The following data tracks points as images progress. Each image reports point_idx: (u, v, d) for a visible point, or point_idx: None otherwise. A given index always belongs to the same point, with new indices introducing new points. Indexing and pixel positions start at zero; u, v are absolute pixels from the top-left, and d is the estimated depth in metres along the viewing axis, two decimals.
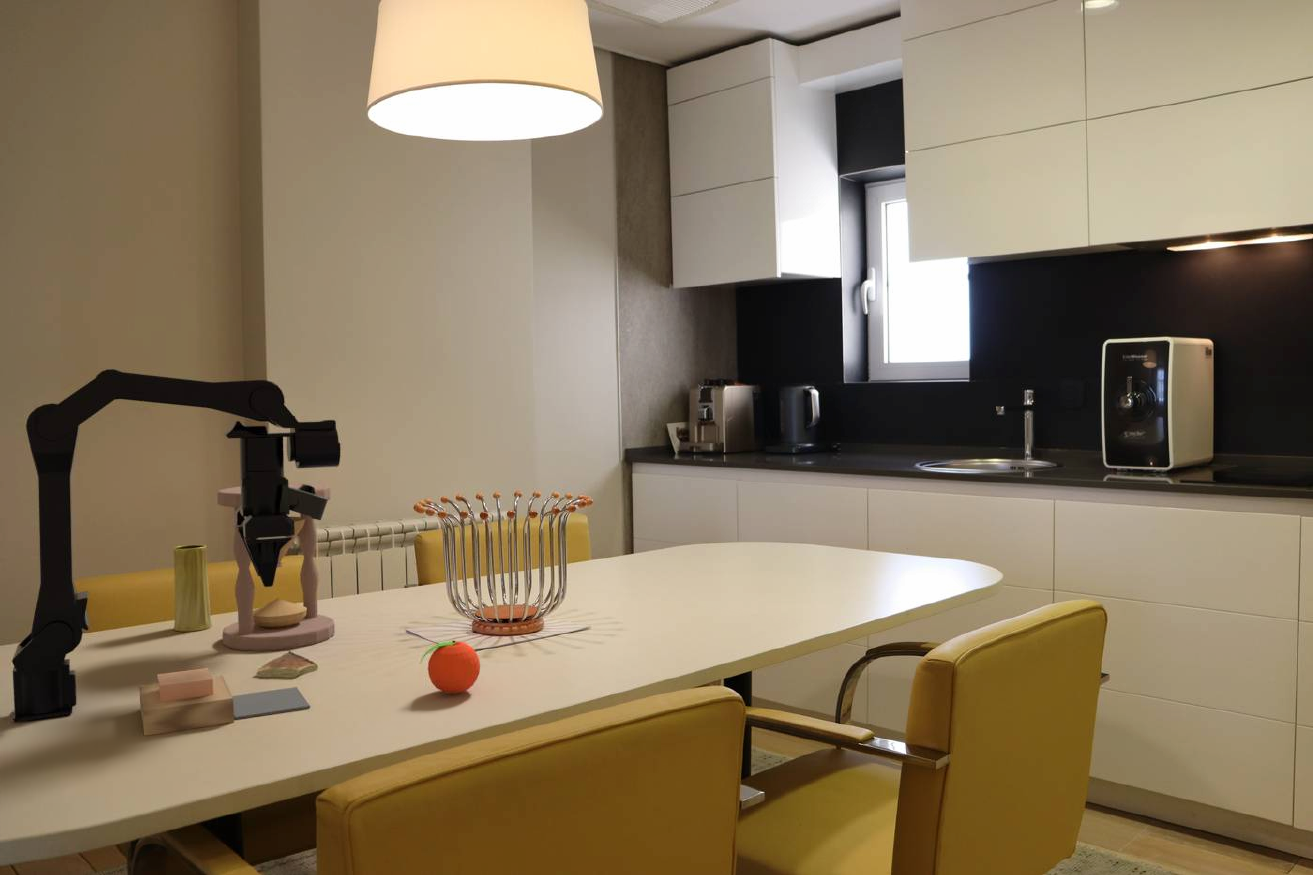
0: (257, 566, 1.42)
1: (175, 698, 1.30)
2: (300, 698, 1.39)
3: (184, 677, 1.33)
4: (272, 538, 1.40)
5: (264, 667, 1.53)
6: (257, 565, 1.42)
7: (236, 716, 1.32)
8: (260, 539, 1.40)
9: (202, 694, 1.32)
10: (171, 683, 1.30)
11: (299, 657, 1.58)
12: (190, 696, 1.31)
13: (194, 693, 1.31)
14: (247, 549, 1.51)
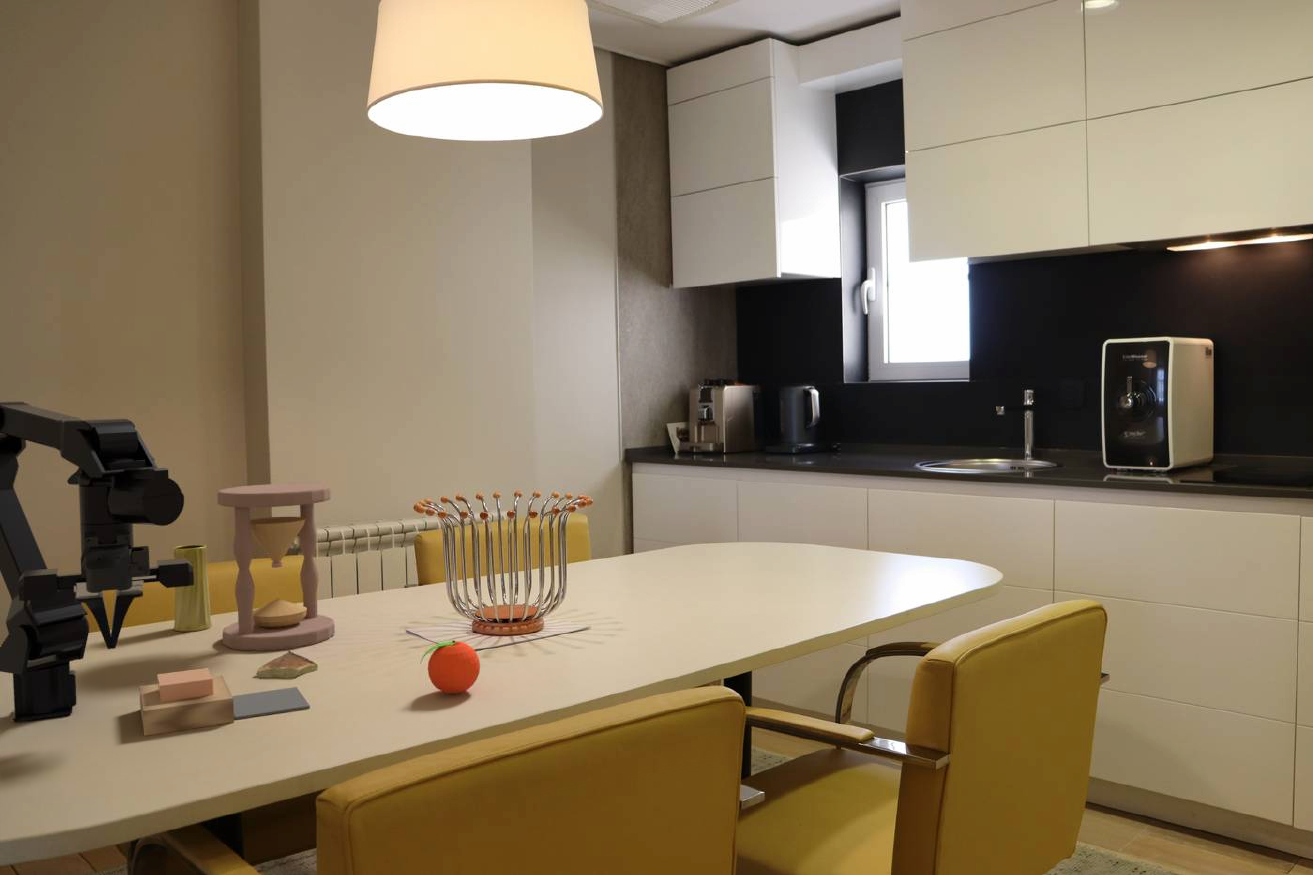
0: None
1: (175, 698, 1.30)
2: (300, 698, 1.39)
3: (184, 677, 1.33)
4: (76, 595, 1.27)
5: (264, 667, 1.53)
6: None
7: (236, 716, 1.32)
8: None
9: (202, 694, 1.32)
10: (171, 683, 1.30)
11: (299, 657, 1.58)
12: (190, 696, 1.31)
13: (194, 693, 1.31)
14: None
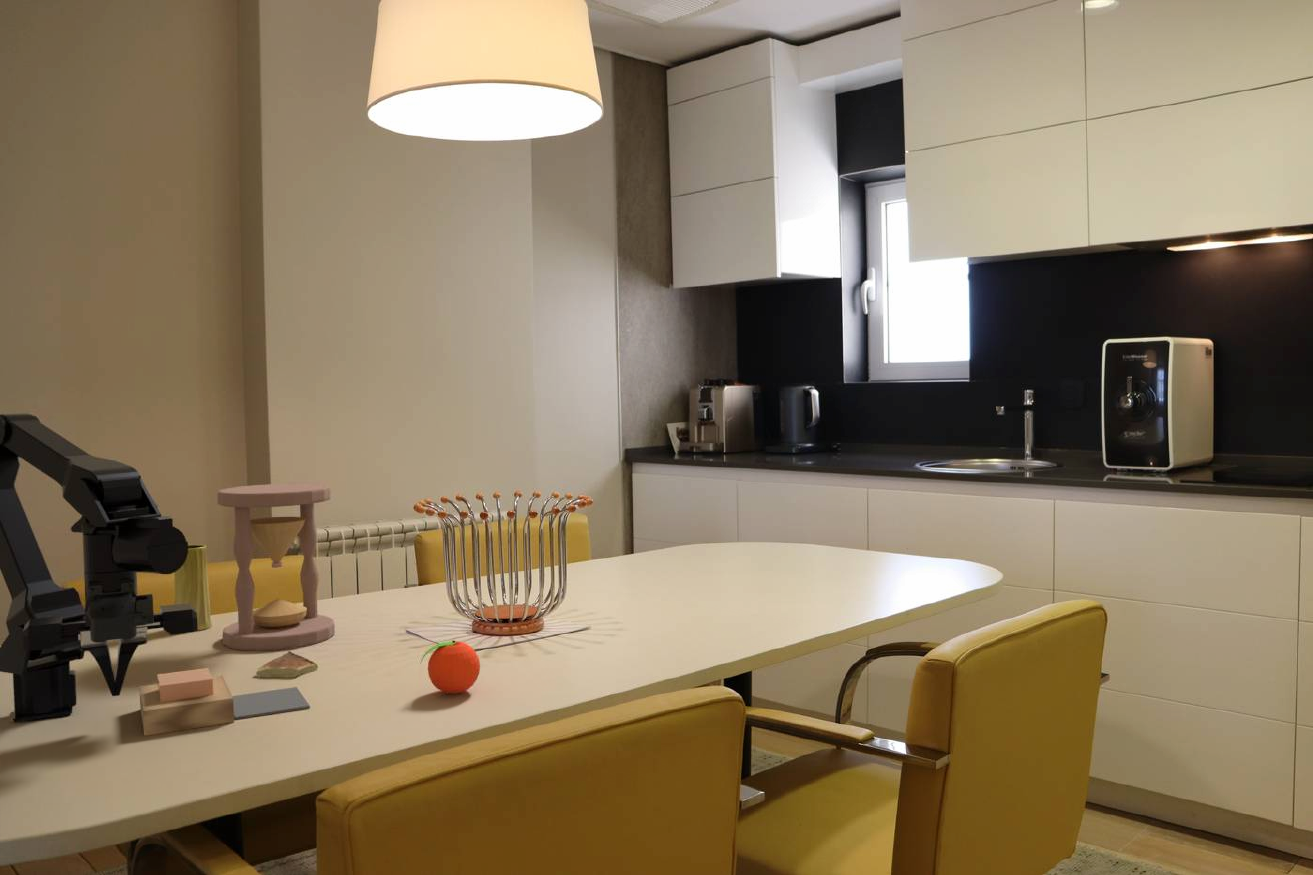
0: None
1: (175, 698, 1.30)
2: (300, 698, 1.39)
3: (184, 677, 1.33)
4: (80, 643, 1.27)
5: (264, 667, 1.53)
6: None
7: (236, 716, 1.32)
8: (80, 641, 1.29)
9: (202, 694, 1.32)
10: (171, 683, 1.30)
11: (299, 657, 1.58)
12: (190, 696, 1.31)
13: (194, 693, 1.31)
14: (117, 659, 1.31)
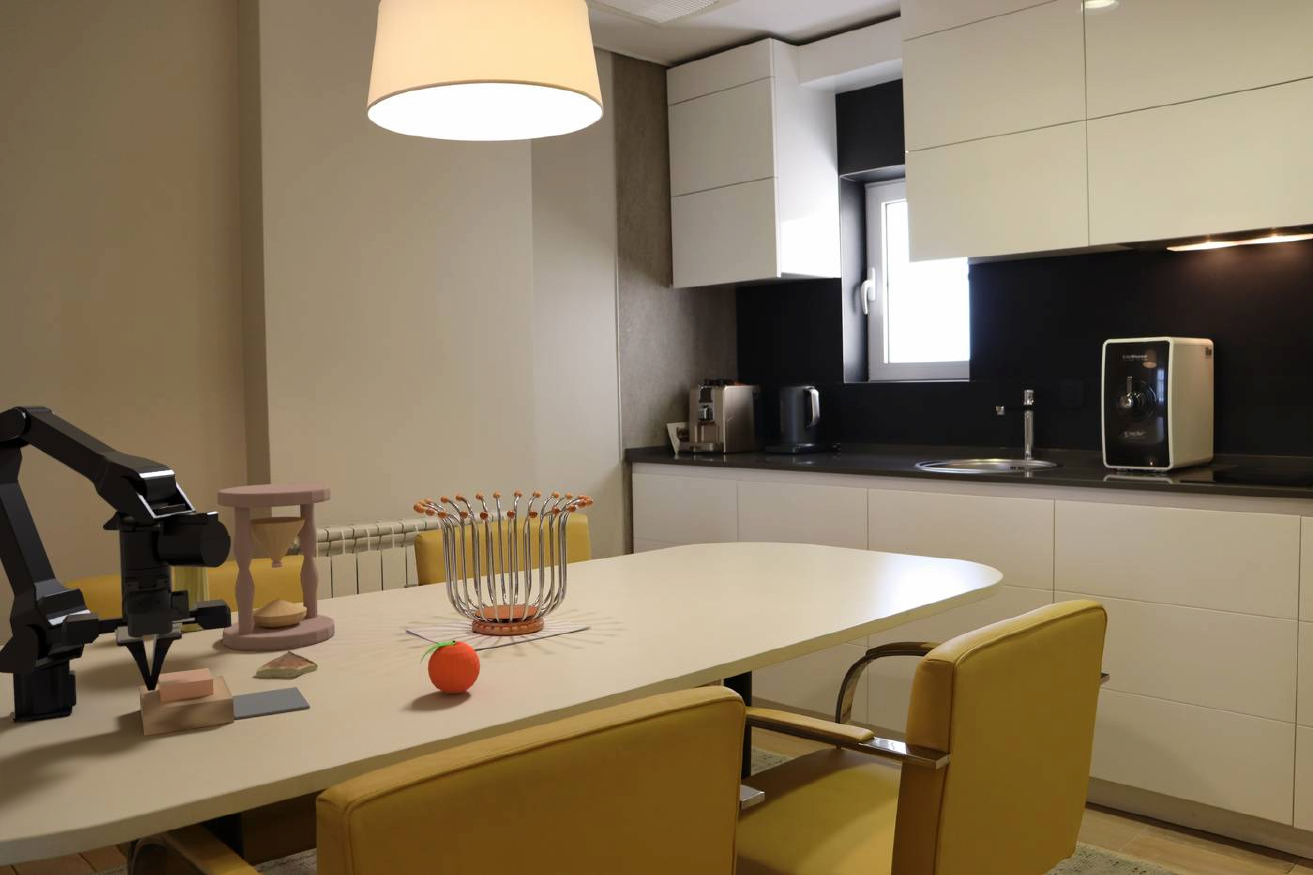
0: None
1: (175, 698, 1.30)
2: (300, 698, 1.39)
3: (184, 677, 1.33)
4: (116, 638, 1.29)
5: (264, 667, 1.53)
6: None
7: (236, 716, 1.32)
8: (116, 636, 1.31)
9: (202, 694, 1.32)
10: (171, 683, 1.30)
11: (299, 657, 1.58)
12: (190, 696, 1.31)
13: (194, 693, 1.31)
14: (152, 654, 1.33)
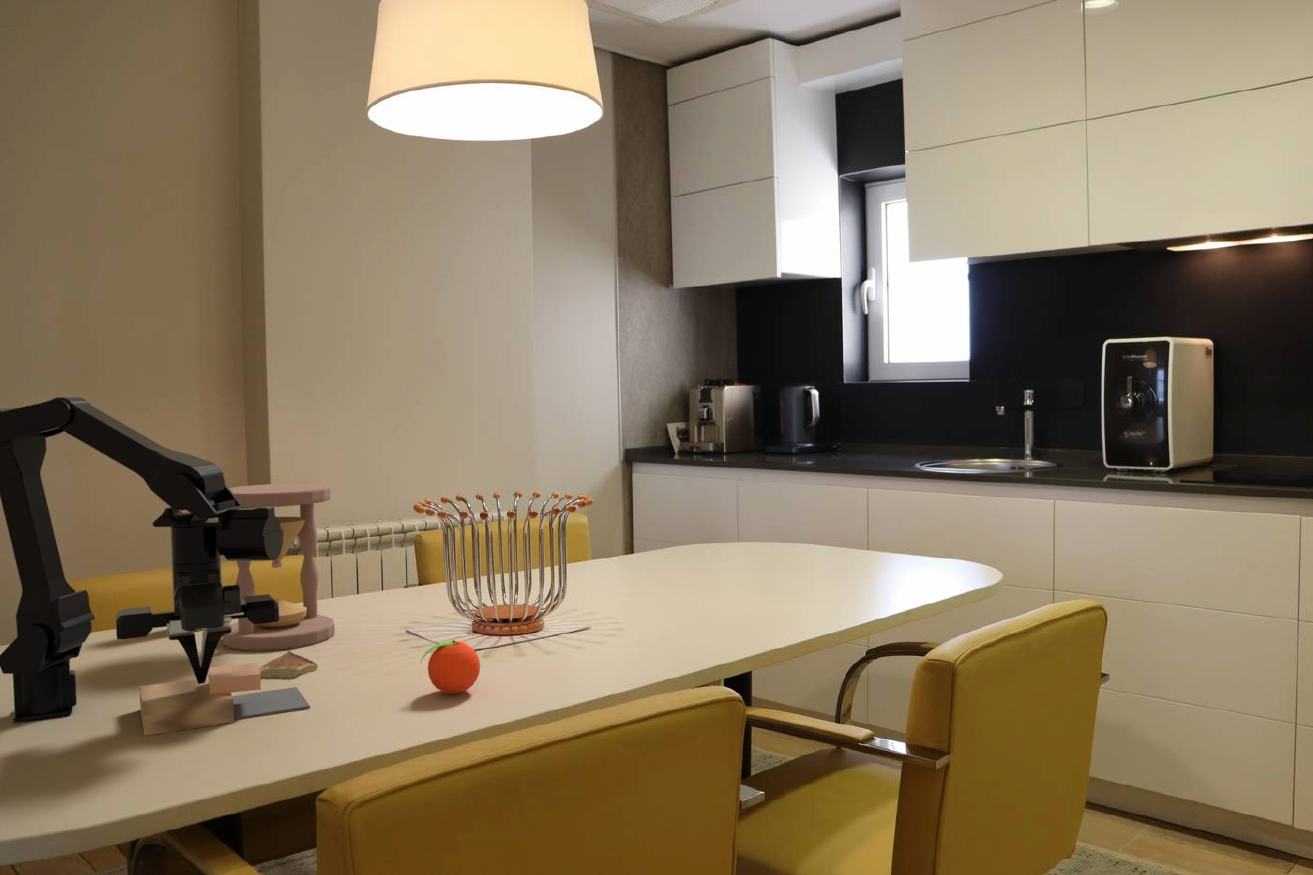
0: None
1: (224, 691, 1.33)
2: (300, 698, 1.39)
3: (233, 671, 1.35)
4: (168, 632, 1.32)
5: (264, 667, 1.53)
6: None
7: (236, 716, 1.32)
8: (167, 630, 1.33)
9: (250, 689, 1.34)
10: (220, 677, 1.33)
11: (298, 657, 1.58)
12: (238, 690, 1.33)
13: (242, 687, 1.34)
14: None
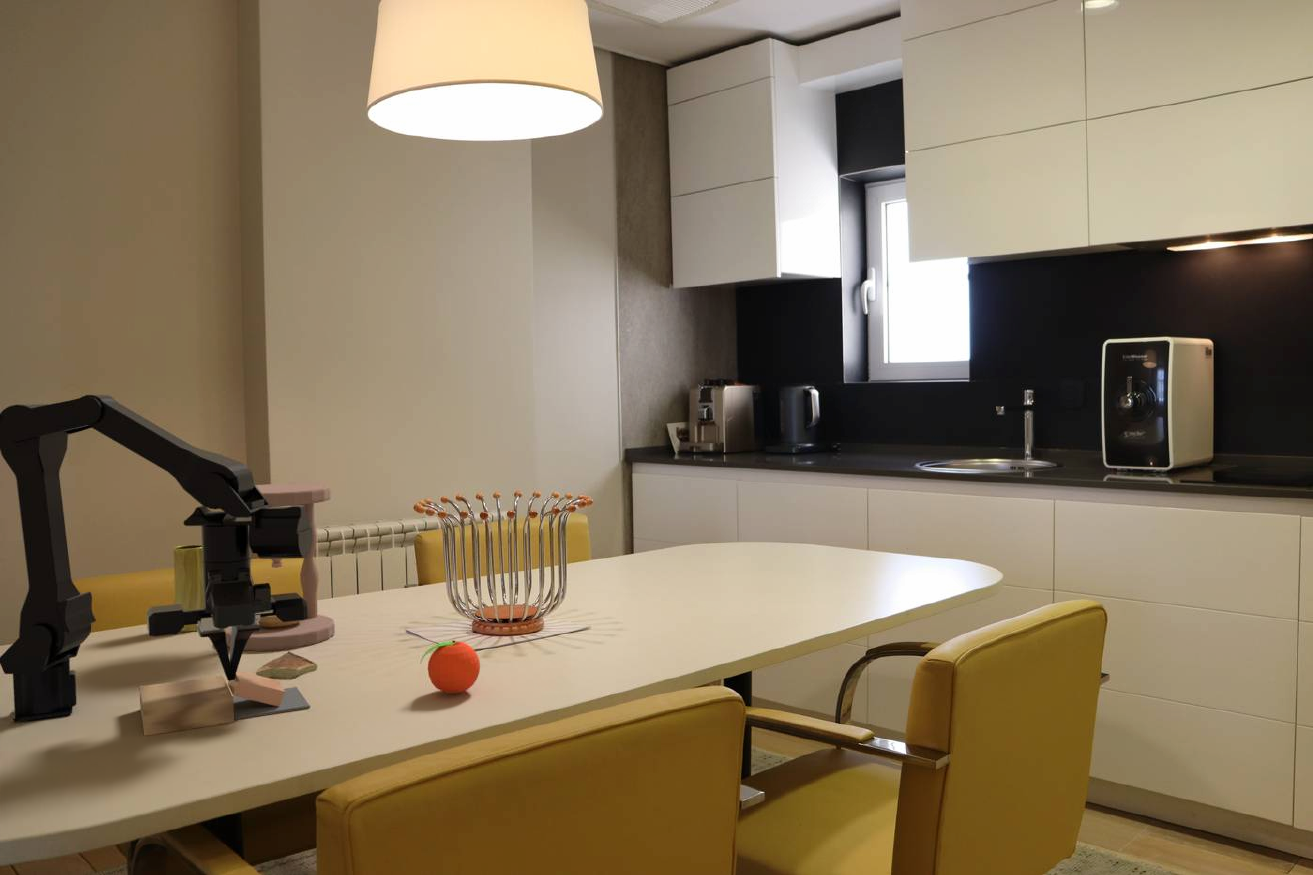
0: None
1: (246, 697, 1.34)
2: (300, 698, 1.39)
3: (259, 681, 1.37)
4: (199, 629, 1.34)
5: (263, 667, 1.53)
6: None
7: (236, 716, 1.32)
8: (198, 627, 1.35)
9: (270, 702, 1.35)
10: (248, 681, 1.34)
11: (298, 657, 1.58)
12: (259, 700, 1.35)
13: (264, 699, 1.35)
14: None
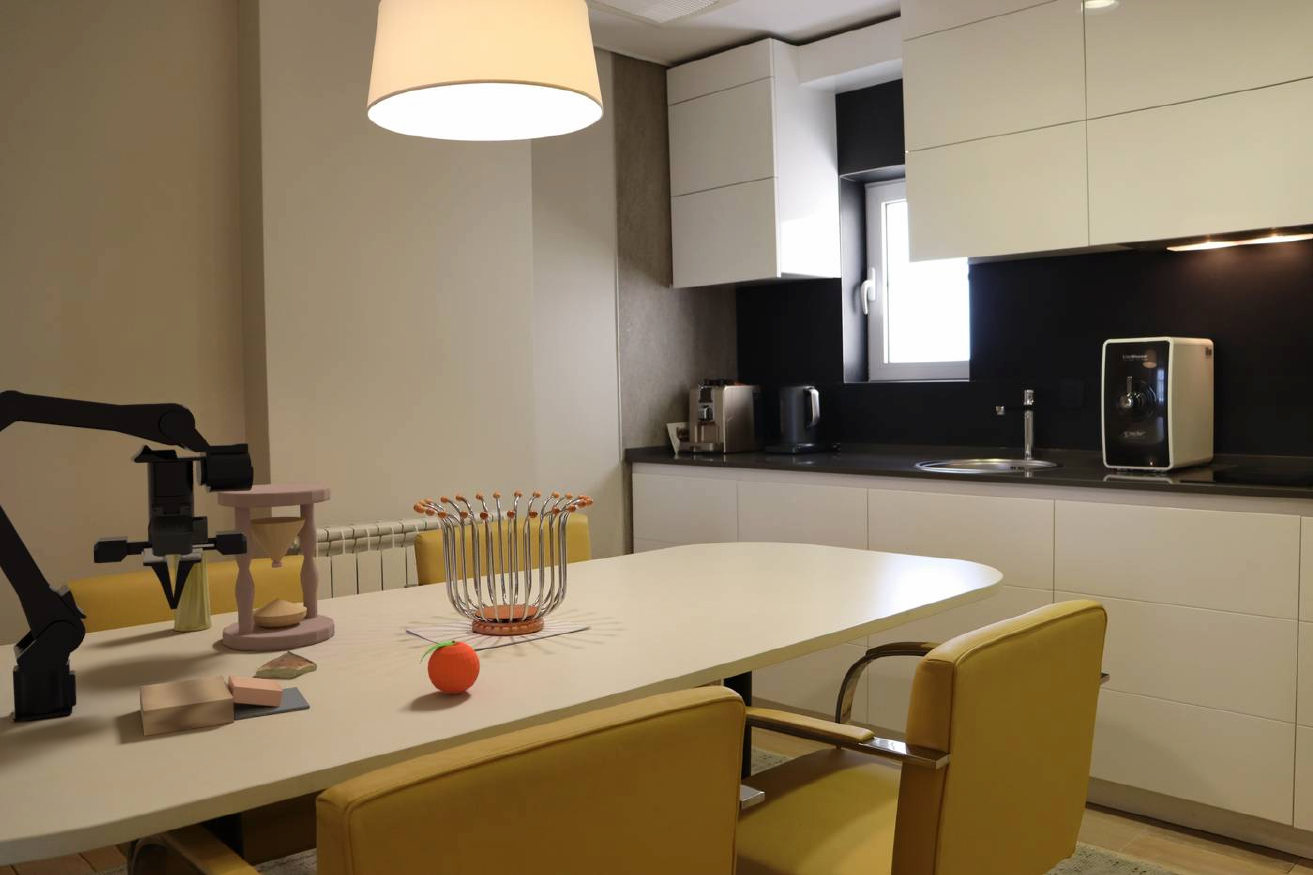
0: None
1: (245, 702, 1.34)
2: (300, 698, 1.39)
3: (256, 684, 1.37)
4: (143, 560, 1.42)
5: (263, 667, 1.53)
6: None
7: (236, 716, 1.32)
8: (143, 558, 1.43)
9: (270, 704, 1.35)
10: (245, 686, 1.34)
11: (298, 657, 1.58)
12: (259, 703, 1.35)
13: (263, 701, 1.35)
14: None
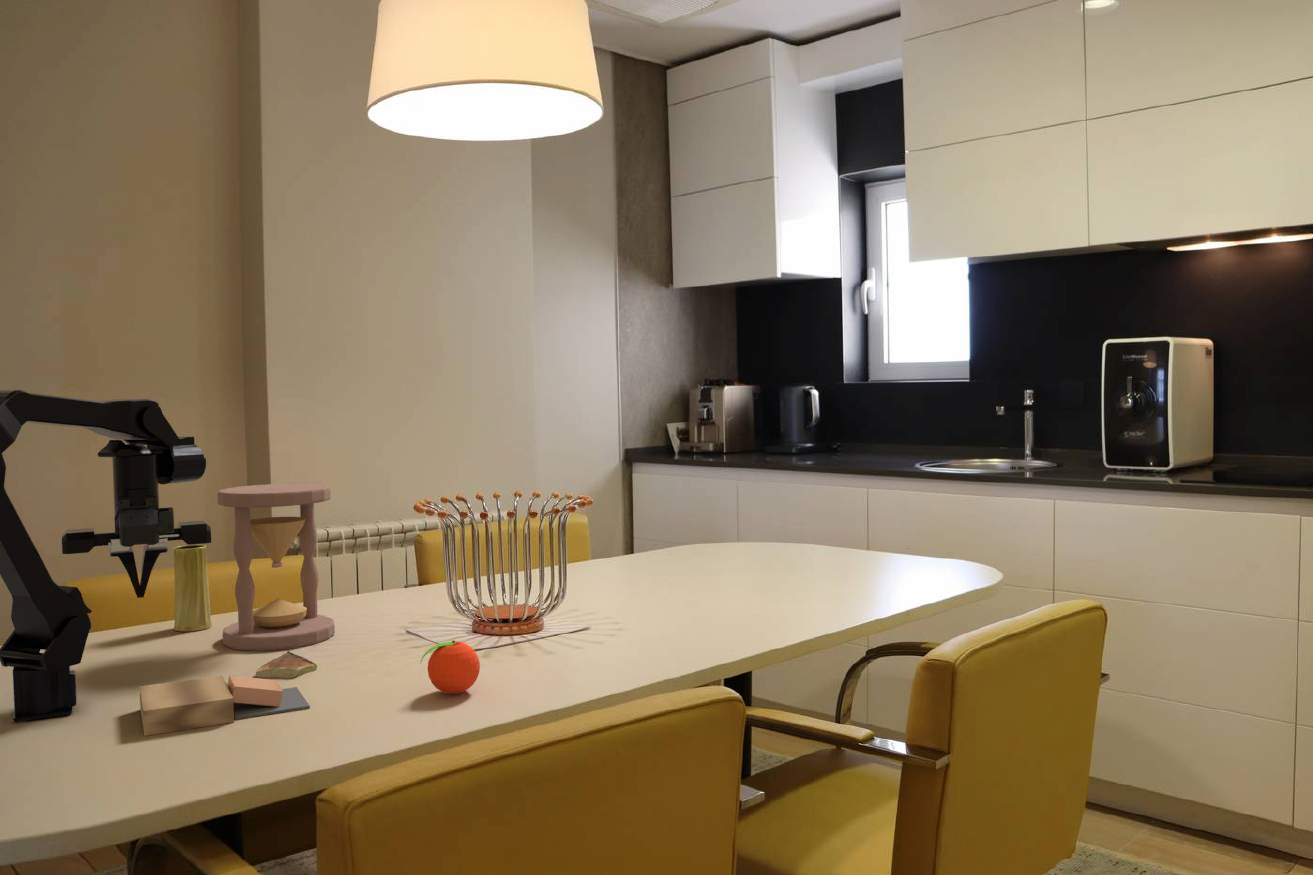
0: None
1: (245, 702, 1.34)
2: (300, 698, 1.39)
3: (256, 684, 1.37)
4: (110, 550, 1.47)
5: (263, 667, 1.53)
6: None
7: (236, 716, 1.32)
8: (110, 549, 1.49)
9: (270, 704, 1.35)
10: (245, 686, 1.34)
11: (298, 657, 1.58)
12: (259, 703, 1.35)
13: (263, 701, 1.35)
14: (141, 567, 1.51)
